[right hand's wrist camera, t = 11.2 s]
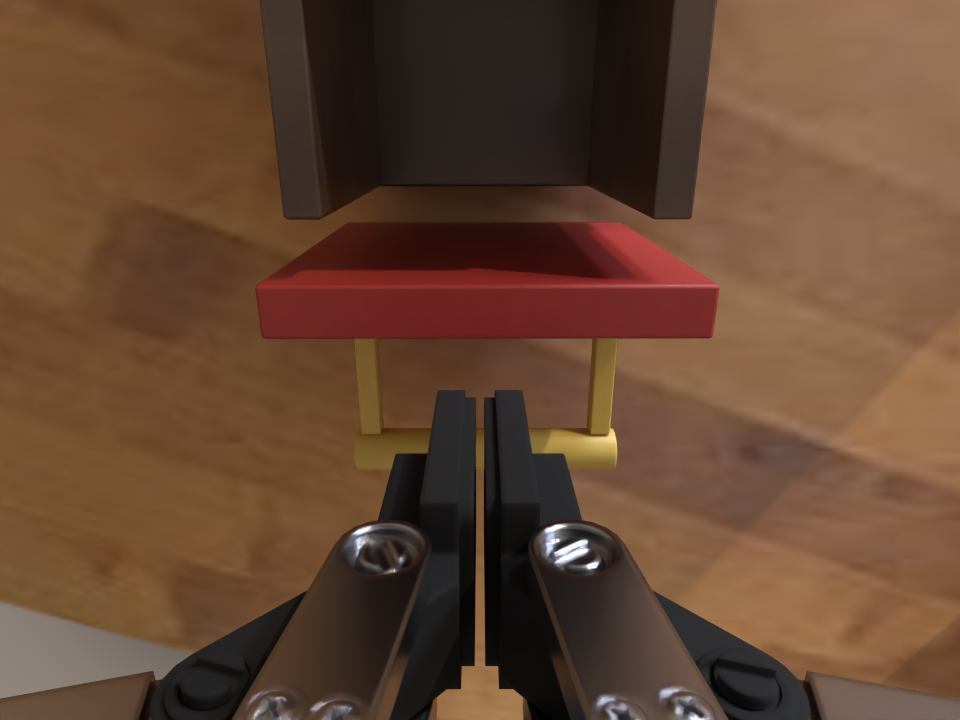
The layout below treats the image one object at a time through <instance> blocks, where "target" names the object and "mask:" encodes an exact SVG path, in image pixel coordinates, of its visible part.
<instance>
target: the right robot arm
mask: <svg viewBox="0 0 960 720" xmlns="http://www.w3.org/2000/svg"><path fill="white" fill-rule="evenodd" d="M475 575H476V398H465V390H438V392H437V398H436V405H435V411H434V417H433V423H432V429H431V435H430V441H429V447H428V453H397V454H396V455H395V458H394V461H393V465H392V469H391V473H390V477H389V480H388V484H387V488H386V492H385V496H384V499H383V503H382V507H381V511H380V515H379V518H378V521H372V522H367V523H365V524H362V525H359V526H357V527H354V528H353V529H351V530H350V531H348V532H347V533H345V534H344V535H342V537H341V538H340V539H339V540H338V541H337V543H336V544H335V545H334V547H333V549H332V550H331V552H330V554H329V555H328V557H327V559H326V560H325V562H324V564H323V566H322V567H321V569H320V571H319V572H318V574H317V576H316V577H315V579H314V581H313V582H312V584H311V586H310V588H309V589H308V590H307V591H306V592H304V593H302V594H300V595H298V596H297V597H295V598H293V599H291V600H289V601H288V602H286V603H284V604H282V605H280V606H279V607H277V608H275V609H273V610H271V611H270V612H268V613H266V614H264V615H262V616H261V617H259V618H257V619H255V620H253V621H252V622H250V623H248V624H246V625H244V626H242V627H241V628H239V629H237V630H235V631H233V632H232V633H230V634H228V635H226V636H224V637H223V638H221V639H219V640H217V641H215V642H214V643H212V644H210V645H208V646H206V647H205V648H203V649H201V650H199V651H197V652H196V653H194V654H192V655H191V656H189V657H188V658H186V659H185V660H183V661H182V662H180V663H179V664H177V665H176V666H175V667H174V668H173V669H172V670H171V671H170V672H169V673H168V674H167V675H166V676H165V677H164V678H163V679H162V680H155V676H154V672H153V671H150V672H145V673H139V674H134V675H128V676H123V677H117V678H112V679H106V680H101V681H95V682H90V683H84V684H79V685H73V686H68V687H62V688H57V689H51V690H46V691H41V692H35V693H29V694H24V695H18V696H13V697H7V698H2V699H0V720H436V718H437V697H438V696H439V695H440V694H441V693H442V692H444V691H445V690H446V689H461V670H462V666H475ZM484 575H485V666H498V670H499V689H514V690H515V691H516V692H518V693H519V694H520V695H521V696H522V697H523V718H524V720H960V699H958V698H953V697H947V696H942V695H936V694H931V693H925V692H920V691H914V690H909V689H903V688H898V687H892V686H887V685H881V684H876V683H870V682H865V681H859V680H854V679H848V678H843V677H837V676H832V675H826V674H821V673H816V672H810V671H807V672H806V676H805V680H798V679H797V678H796V677H795V676H794V675H793V674H792V673H791V672H790V671H789V670H788V669H787V668H786V667H785V666H784V665H783V664H781V663H780V662H778V661H777V660H775V659H774V658H772V657H771V656H769V655H768V654H766V653H764V652H763V651H761V650H759V649H757V648H755V647H754V646H752V645H750V644H748V643H746V642H745V641H743V640H741V639H739V638H737V637H736V636H734V635H732V634H730V633H728V632H727V631H725V630H723V629H721V628H719V627H718V626H716V625H714V624H712V623H710V622H708V621H707V620H705V619H703V618H701V617H699V616H698V615H696V614H694V613H692V612H690V611H689V610H687V609H685V608H683V607H681V606H680V605H678V604H676V603H674V602H672V601H671V600H669V599H667V598H665V597H663V596H662V595H660V594H658V593H656V592H654V591H653V590H652V589H651V588H650V586H649V584H648V582H647V581H646V579H645V577H644V576H643V574H642V572H641V571H640V569H639V567H638V566H637V564H636V562H635V560H634V559H633V557H632V555H631V554H630V552H629V550H628V549H627V547H626V545H625V544H624V543H623V541H622V540H621V539H620V538H619V537H618V535H616V534H615V533H613V532H612V531H610V530H609V529H607V528H606V527H603V526H601V525H598V524H595V523H593V522H588V521H582V518H581V515H580V511H579V507H578V503H577V499H576V496H575V492H574V488H573V484H572V480H571V477H570V473H569V469H568V465H567V461H566V458H565V455H564V454H563V453H532V447H531V441H530V435H529V429H528V423H527V417H526V411H525V405H524V398H523V392H522V390H495V398H484Z"/></svg>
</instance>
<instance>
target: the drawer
mask: <svg viewBox="0 0 960 720" xmlns="http://www.w3.org/2000/svg"><path fill="white" fill-rule="evenodd" d="M716 5H717V0H260V7H261V16H262V25H263V34H264V43H265V52H266V61H267V70H268V79H269V88H270V97H271V106H272V115H273V124H274V133H275V142H276V151H277V160H278V169H279V178H280V187H281V196H282V205H283V214H284V217H285V218H286V219H289V220H319V219H321V218H323V217H325V216H327V215H329V214H330V213H332V212H334V211H336V210H338V209H340V208H341V207H343V206H345V205H347V204H349V203H350V202H352V201H354V200H356V199H358V198H360V197H361V196H363V195H365V194H367V193H369V192H371V191H372V190H374V189H376V188H378V187H380V186H589V187H591V188H593V189H595V190H597V191H599V192H601V193H603V194H605V195H607V196H609V197H611V198H613V199H615V200H617V201H619V202H621V203H623V204H625V205H627V206H629V207H631V208H633V209H635V210H637V211H639V212H641V213H643V214H645V215H647V216H649V217H651V218H653V219H690V218H691V217H692V210H693V201H694V193H695V184H696V176H697V167H698V159H699V150H700V142H701V133H702V125H703V116H704V108H705V99H706V91H707V82H708V74H709V65H710V57H711V48H712V40H713V31H714V23H715V14H716ZM718 295H719V285H718V284H716V283H715V282H713V281H711V280H710V279H708V278H707V277H705V276H704V275H702V274H701V273H699V272H697V271H696V270H694V269H693V268H691V267H690V266H688V265H687V264H685V263H683V262H682V261H680V260H679V259H677V258H676V257H674V256H673V255H671V254H669V253H668V252H666V251H665V250H663V249H662V248H660V247H659V246H657V245H655V244H654V243H652V242H651V241H649V240H648V239H646V238H645V237H643V236H641V235H640V234H638V233H637V232H635V231H634V230H632V229H631V228H629V227H627V226H626V225H624V224H623V223H621V222H525V223H347V224H345V225H344V226H342V227H341V228H339V229H338V230H336V231H335V232H333V233H332V234H331V235H329V236H328V237H326V238H325V239H323V240H322V241H320V242H319V243H317V244H316V245H315V246H313V247H312V248H310V249H309V250H307V251H306V252H304V253H303V254H301V255H300V256H299V257H297V258H296V259H294V260H293V261H291V262H290V263H288V264H287V265H286V266H284V267H283V268H281V269H280V270H278V271H277V272H275V273H274V274H272V275H271V276H270V277H268V278H267V279H265V280H264V281H262V282H261V283H259V284H258V285H257V286H256V297H257V305H258V312H259V320H260V327H261V335H262V337H263V338H265V339H354V347H355V360H356V373H357V386H358V399H359V412H360V424H361V428H360V429H358V430H357V432H356V435H355V440H354V463H355V466H356V469H357V470H391V469H392V465H393V461H394V458H395V455H396V454H397V453H428V447H429V441H430V435H431V429H432V428H383V410H382V394H381V378H380V362H379V346H378V339H560V338H593V341H592V356H591V371H590V386H589V401H588V416H587V427H588V428H528V429H529V435H530V441H531V447H532V453H563V454H564V455H565V458H566V461H567V465H568V469H569V470H613V469H614V468H615V465H616V461H617V441H616V436H615V433H614V430H613V429H611V428H610V423H611V411H612V399H613V386H614V374H615V362H616V349H617V338H711V337H712V336H713V331H714V324H715V316H716V309H717V302H718ZM476 470H484V428H476Z"/></svg>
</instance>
